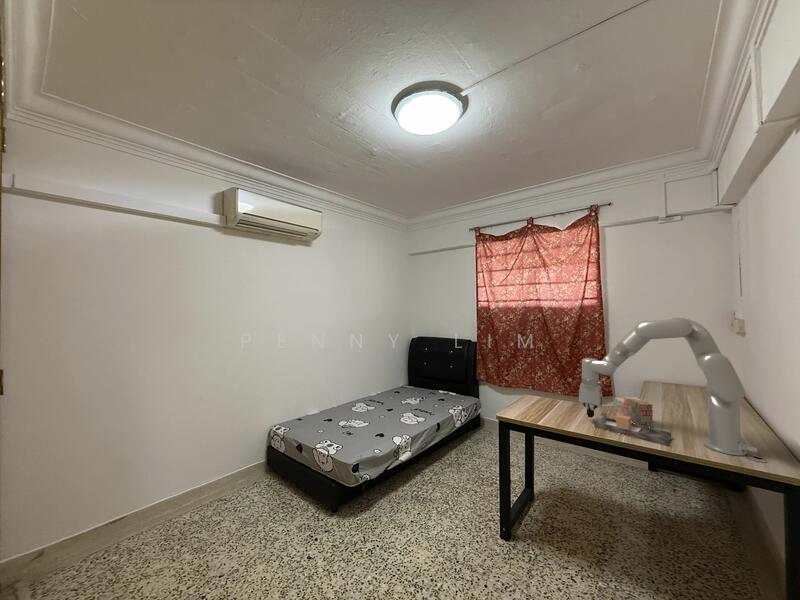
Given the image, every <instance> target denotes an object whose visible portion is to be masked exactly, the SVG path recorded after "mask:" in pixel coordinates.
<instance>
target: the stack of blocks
mask: <svg viewBox="0 0 800 600" xmlns="http://www.w3.org/2000/svg"><path fill="white" fill-rule="evenodd" d="M612 402H613V413H614V412H616V413H618V414H620V415H624V416H629V417H631V421H632V422H633V423H635V424H636V425H641V426H645V427H650V428H654V427H653V411H654V410H653V403H650V402H649V401H646V400H643V399H641V398H638V397H635V396H625V397H624V396H623V397H613V399H612Z"/></svg>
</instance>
